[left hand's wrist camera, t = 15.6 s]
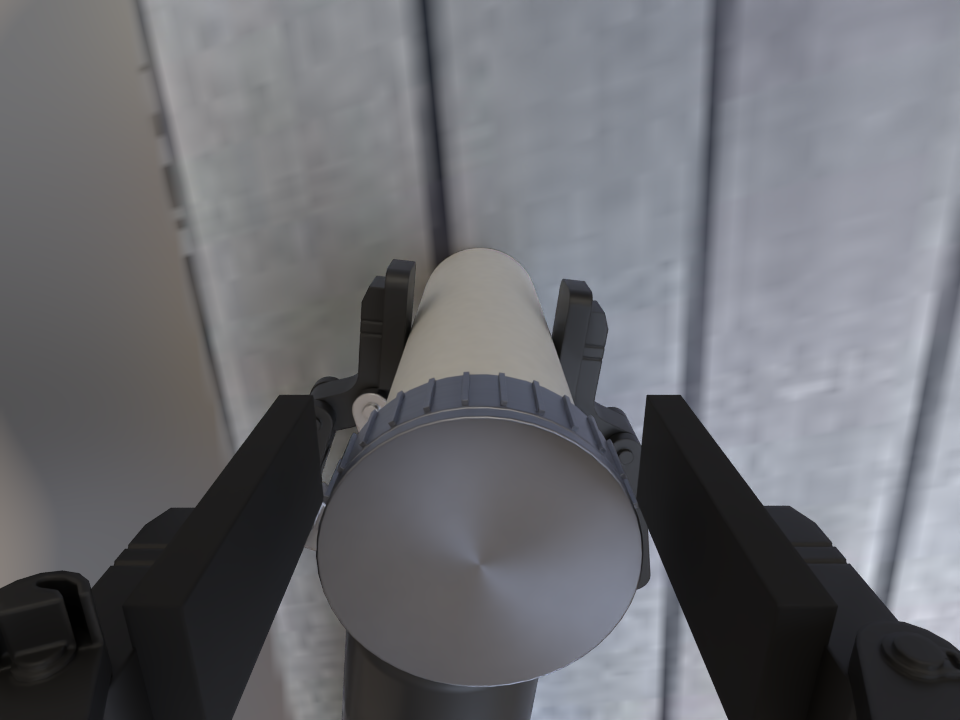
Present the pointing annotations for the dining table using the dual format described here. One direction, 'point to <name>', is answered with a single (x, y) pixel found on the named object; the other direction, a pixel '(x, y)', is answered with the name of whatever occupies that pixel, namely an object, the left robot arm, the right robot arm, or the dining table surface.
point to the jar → (479, 325)
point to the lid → (479, 532)
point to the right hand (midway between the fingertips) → (488, 277)
